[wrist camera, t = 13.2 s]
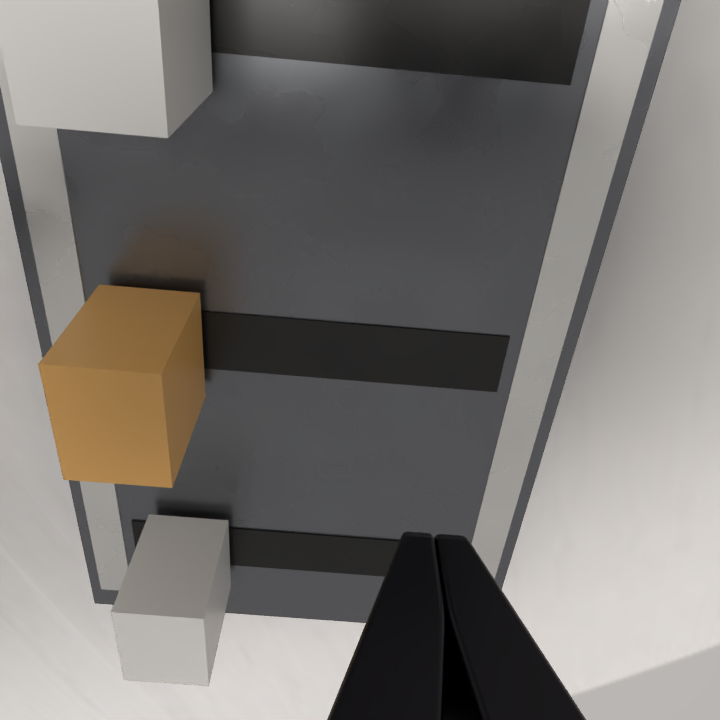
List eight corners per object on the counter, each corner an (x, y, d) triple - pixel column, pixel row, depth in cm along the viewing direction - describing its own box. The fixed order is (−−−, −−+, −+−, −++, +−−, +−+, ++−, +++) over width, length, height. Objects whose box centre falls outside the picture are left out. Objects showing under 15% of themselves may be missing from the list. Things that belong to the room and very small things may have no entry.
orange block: (205, 396, 21) (172, 488, 17) (114, 388, 21) (63, 479, 17) (199, 293, 19) (161, 373, 15) (99, 284, 19) (38, 364, 15)
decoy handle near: (212, 91, 16) (167, 137, 13) (93, 80, 16) (16, 124, 12) (205, -92, 14) (150, -95, 11) (69, -106, 14) (-30, -112, 10)
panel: (482, 590, 29) (488, 633, 28) (111, 563, 29) (94, 604, 27) (694, -164, 15) (735, -175, 13) (-35, -239, 15) (-90, -259, 13)
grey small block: (230, 586, 26) (208, 686, 22) (157, 581, 26) (124, 680, 22) (228, 520, 24) (203, 618, 20) (148, 514, 24) (110, 612, 20)
